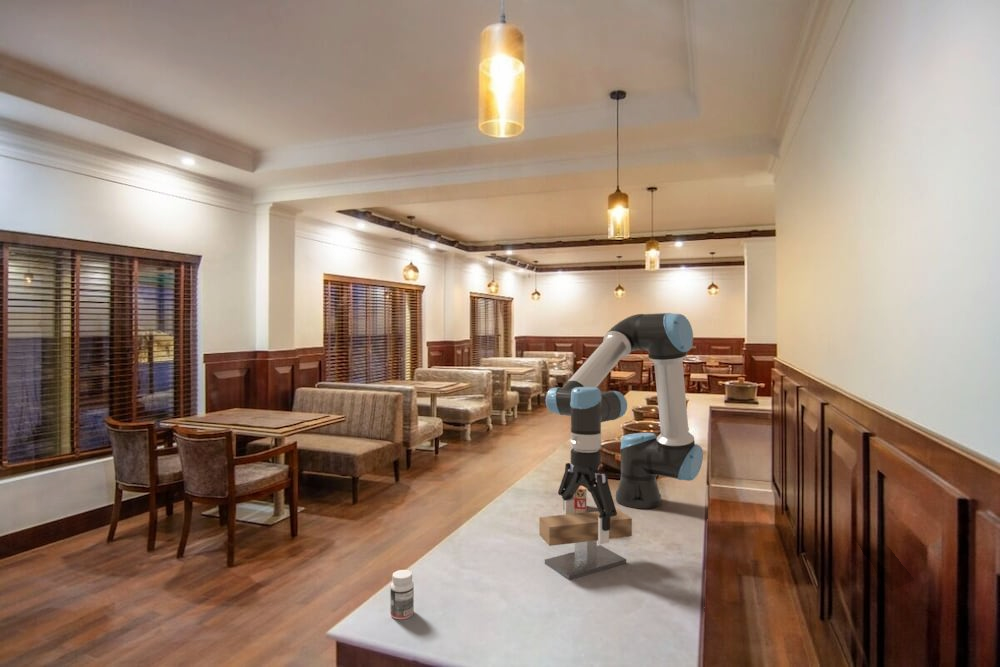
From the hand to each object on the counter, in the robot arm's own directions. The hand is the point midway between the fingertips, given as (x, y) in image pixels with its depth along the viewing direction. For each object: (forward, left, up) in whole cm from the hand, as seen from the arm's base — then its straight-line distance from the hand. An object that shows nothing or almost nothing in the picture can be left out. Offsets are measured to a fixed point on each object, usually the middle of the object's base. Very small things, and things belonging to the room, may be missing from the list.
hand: (585, 533), depth 133 cm
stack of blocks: (-19, -28, -8) cm, 35 cm away
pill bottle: (+48, 0, -8) cm, 49 cm away
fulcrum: (0, 0, -7) cm, 7 cm away
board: (0, 0, 0) cm, 0 cm away
